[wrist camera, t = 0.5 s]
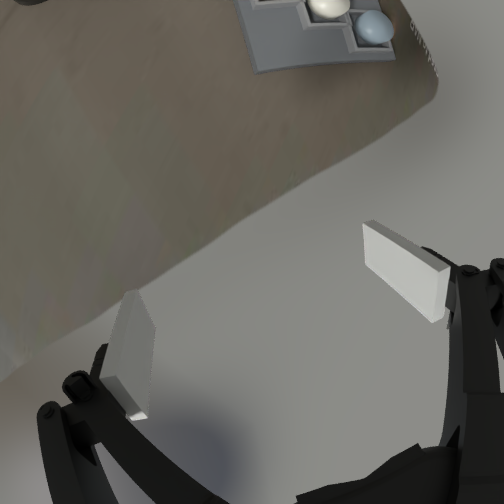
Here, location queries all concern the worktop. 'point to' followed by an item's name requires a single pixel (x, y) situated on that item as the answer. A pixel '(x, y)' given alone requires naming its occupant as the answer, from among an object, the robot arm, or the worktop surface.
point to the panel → (305, 35)
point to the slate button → (374, 27)
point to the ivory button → (329, 8)
